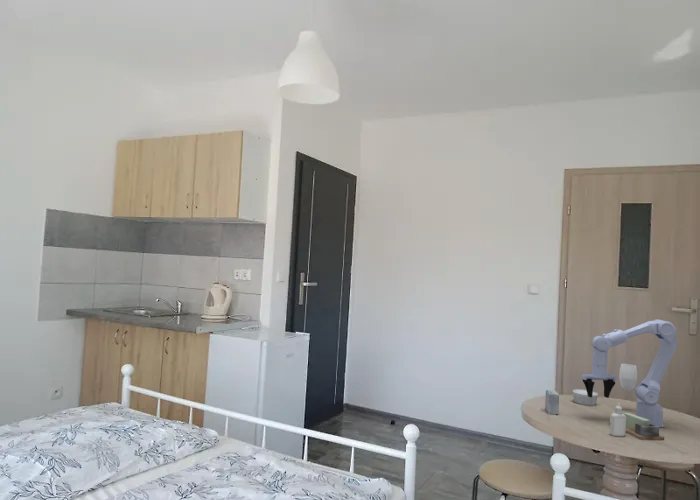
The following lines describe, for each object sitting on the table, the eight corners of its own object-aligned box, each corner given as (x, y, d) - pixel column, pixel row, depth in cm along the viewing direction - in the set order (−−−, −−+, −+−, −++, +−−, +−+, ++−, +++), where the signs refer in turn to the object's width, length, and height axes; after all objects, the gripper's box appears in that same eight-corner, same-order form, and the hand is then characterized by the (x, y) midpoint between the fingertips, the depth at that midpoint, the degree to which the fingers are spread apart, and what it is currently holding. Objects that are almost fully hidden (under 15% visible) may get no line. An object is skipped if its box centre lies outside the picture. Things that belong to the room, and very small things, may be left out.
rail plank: (628, 425, 212) (628, 412, 212) (649, 433, 202) (650, 420, 202) (622, 425, 211) (623, 413, 211) (643, 433, 201) (644, 420, 201)
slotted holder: (631, 424, 216) (632, 414, 216) (664, 440, 198) (664, 428, 198) (609, 424, 215) (610, 413, 215) (640, 439, 197) (640, 427, 197)
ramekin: (575, 405, 244) (575, 393, 244) (569, 399, 255) (569, 388, 255) (600, 407, 242) (601, 396, 242) (593, 401, 253) (594, 390, 253)
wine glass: (636, 410, 240) (638, 365, 240) (634, 414, 234) (637, 367, 234) (618, 407, 244) (620, 362, 244) (616, 410, 238) (618, 365, 238)
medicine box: (558, 415, 225) (559, 394, 225) (547, 413, 226) (548, 393, 226) (555, 410, 232) (556, 390, 233) (544, 409, 233) (545, 389, 234)
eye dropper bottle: (626, 437, 198) (628, 406, 198) (610, 435, 200) (611, 404, 200) (624, 434, 202) (625, 403, 202) (608, 432, 204) (609, 401, 204)
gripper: (609, 363, 227) (607, 394, 227) (578, 362, 225) (576, 394, 224) (619, 366, 220) (618, 399, 220) (588, 365, 218) (586, 398, 217)
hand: (598, 397), depth 222 cm, fingers open, 7 cm apart
